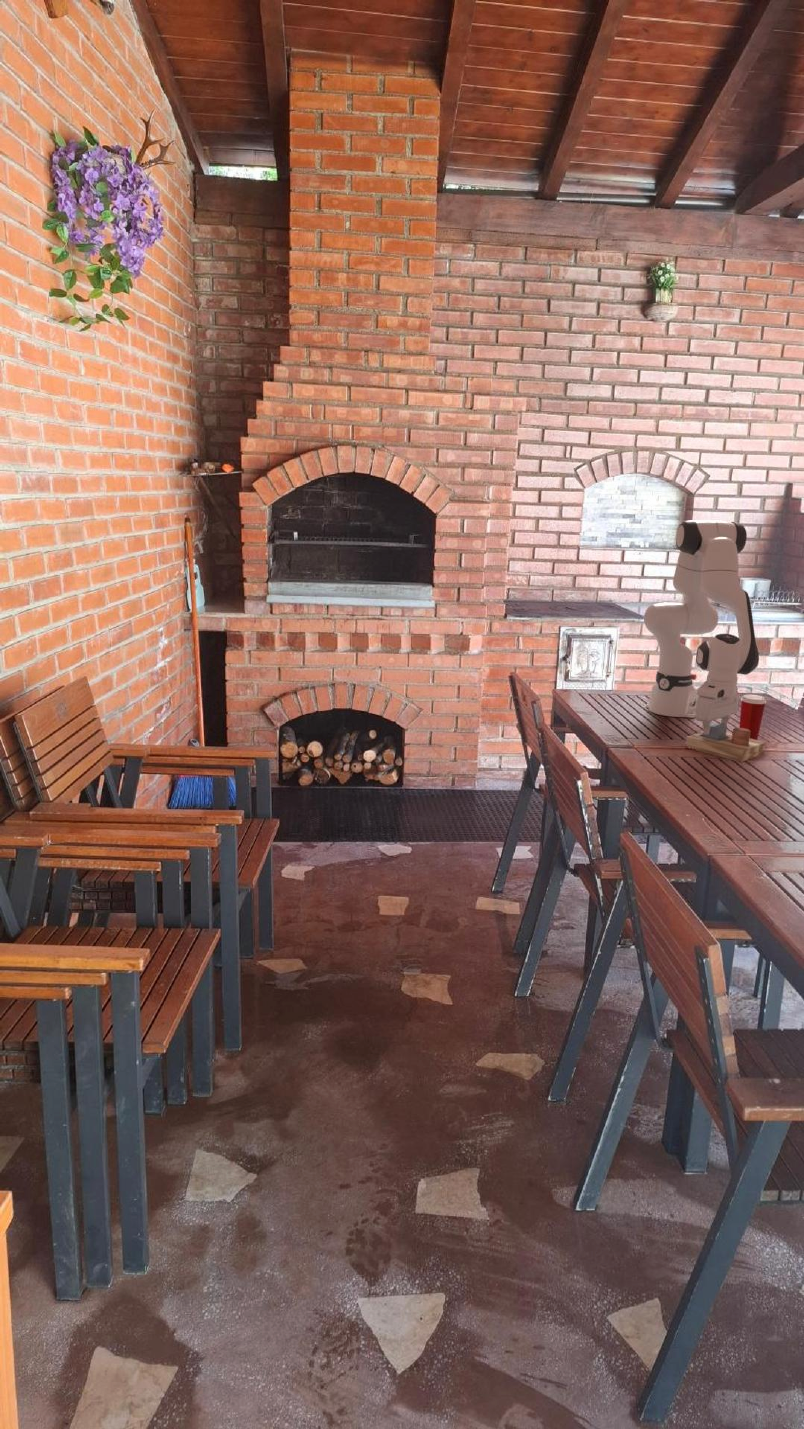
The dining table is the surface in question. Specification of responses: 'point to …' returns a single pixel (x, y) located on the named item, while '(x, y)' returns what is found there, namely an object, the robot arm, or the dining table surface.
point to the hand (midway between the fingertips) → (714, 731)
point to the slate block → (716, 732)
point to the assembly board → (728, 745)
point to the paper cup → (752, 714)
